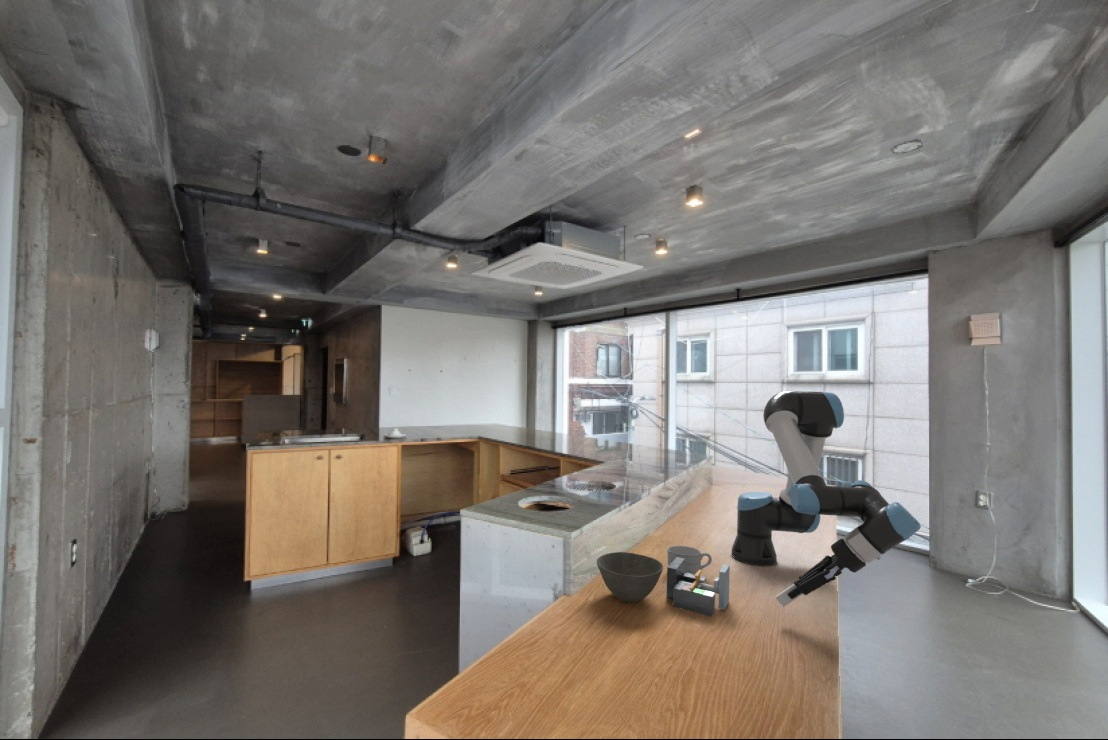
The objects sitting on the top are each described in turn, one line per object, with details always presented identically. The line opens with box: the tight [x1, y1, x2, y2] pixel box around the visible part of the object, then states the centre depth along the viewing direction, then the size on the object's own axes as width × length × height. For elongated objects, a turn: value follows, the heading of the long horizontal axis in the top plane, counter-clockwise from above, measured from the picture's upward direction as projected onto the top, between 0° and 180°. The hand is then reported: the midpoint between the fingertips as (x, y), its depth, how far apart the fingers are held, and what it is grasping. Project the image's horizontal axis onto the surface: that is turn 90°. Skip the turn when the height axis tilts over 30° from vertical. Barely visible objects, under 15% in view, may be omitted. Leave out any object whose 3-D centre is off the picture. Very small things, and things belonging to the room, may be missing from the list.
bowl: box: [596, 551, 664, 603], centre depth 134 cm, size 19×19×10 cm
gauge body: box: [666, 557, 716, 618], centre depth 133 cm, size 14×13×9 cm
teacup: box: [666, 545, 713, 574], centre depth 153 cm, size 14×11×8 cm
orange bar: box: [690, 569, 703, 590], centre depth 132 cm, size 11×1×2 cm, turn 150°
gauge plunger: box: [697, 563, 731, 611], centre depth 133 cm, size 7×8×10 cm
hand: (779, 601), depth 124 cm, fingers closed
